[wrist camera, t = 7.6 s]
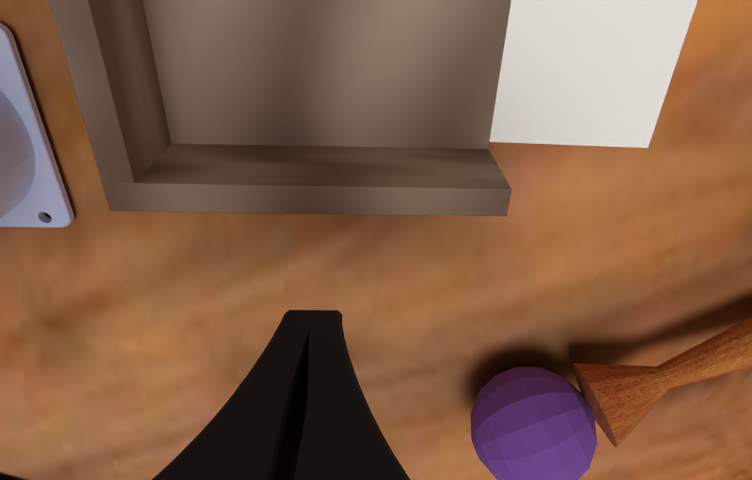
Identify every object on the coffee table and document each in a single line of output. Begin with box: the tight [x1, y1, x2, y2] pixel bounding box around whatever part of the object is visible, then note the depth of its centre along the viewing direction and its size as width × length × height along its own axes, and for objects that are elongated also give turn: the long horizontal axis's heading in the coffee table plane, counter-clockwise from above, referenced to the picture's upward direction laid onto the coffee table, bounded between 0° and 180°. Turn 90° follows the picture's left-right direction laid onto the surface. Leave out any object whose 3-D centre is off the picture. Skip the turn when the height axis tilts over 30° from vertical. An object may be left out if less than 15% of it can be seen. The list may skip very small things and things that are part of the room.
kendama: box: [471, 317, 752, 480], centre depth 24 cm, size 6×6×20 cm
